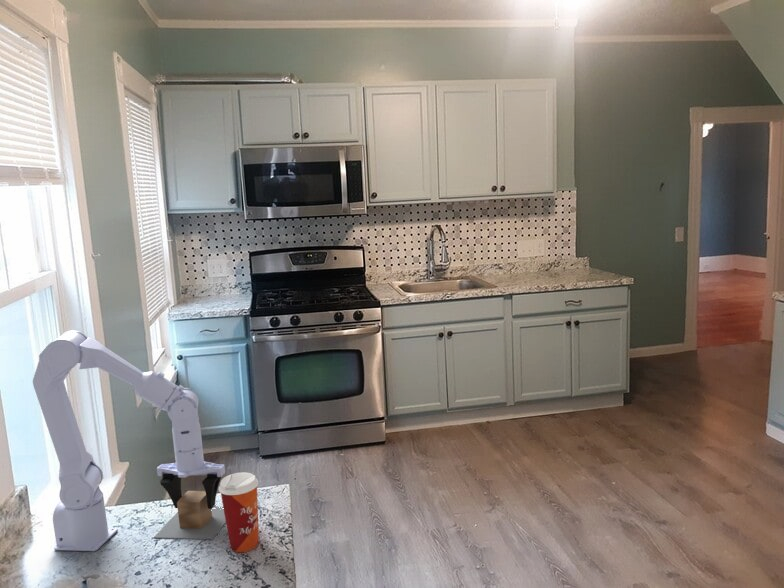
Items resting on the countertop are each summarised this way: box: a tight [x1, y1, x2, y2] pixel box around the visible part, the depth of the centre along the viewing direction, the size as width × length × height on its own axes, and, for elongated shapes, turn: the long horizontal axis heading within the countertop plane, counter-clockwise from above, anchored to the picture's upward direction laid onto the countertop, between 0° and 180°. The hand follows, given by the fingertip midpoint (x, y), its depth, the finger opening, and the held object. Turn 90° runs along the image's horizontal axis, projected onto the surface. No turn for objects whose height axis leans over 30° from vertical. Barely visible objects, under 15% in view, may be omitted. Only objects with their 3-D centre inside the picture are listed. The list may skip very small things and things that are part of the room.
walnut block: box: [176, 490, 212, 529], centre depth 133 cm, size 5×5×6 cm
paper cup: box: [218, 471, 260, 553], centre depth 122 cm, size 8×8×14 cm
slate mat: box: [153, 506, 226, 540], centre depth 133 cm, size 13×13×1 cm
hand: (195, 506), depth 133 cm, fingers open, 7 cm apart
